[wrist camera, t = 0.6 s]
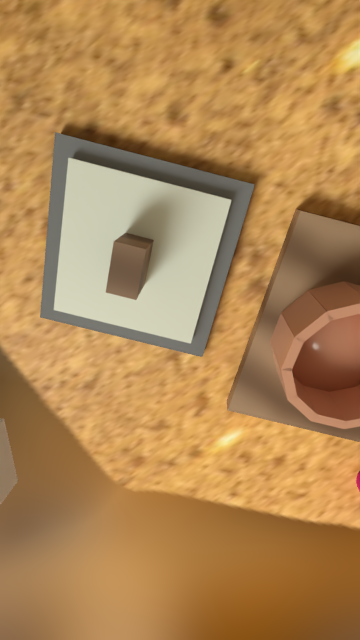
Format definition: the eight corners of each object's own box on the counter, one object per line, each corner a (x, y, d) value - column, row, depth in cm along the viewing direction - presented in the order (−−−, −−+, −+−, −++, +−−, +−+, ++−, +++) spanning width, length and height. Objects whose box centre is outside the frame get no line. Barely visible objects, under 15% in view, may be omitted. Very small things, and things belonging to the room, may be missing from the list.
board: (295, 209, 28) (300, 210, 27) (455, 250, 29) (468, 254, 27) (226, 401, 36) (227, 410, 35) (353, 431, 37) (358, 441, 35)
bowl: (297, 269, 29) (315, 287, 24) (421, 301, 29) (462, 324, 25) (256, 377, 33) (264, 409, 29) (364, 403, 33) (389, 440, 29)
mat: (60, 133, 27) (55, 132, 26) (253, 184, 28) (254, 184, 27) (44, 313, 34) (40, 317, 33) (202, 352, 34) (202, 357, 33)
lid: (72, 158, 27) (46, 154, 23) (230, 199, 27) (235, 203, 23) (57, 306, 32) (33, 327, 28) (191, 339, 33) (188, 365, 28)
